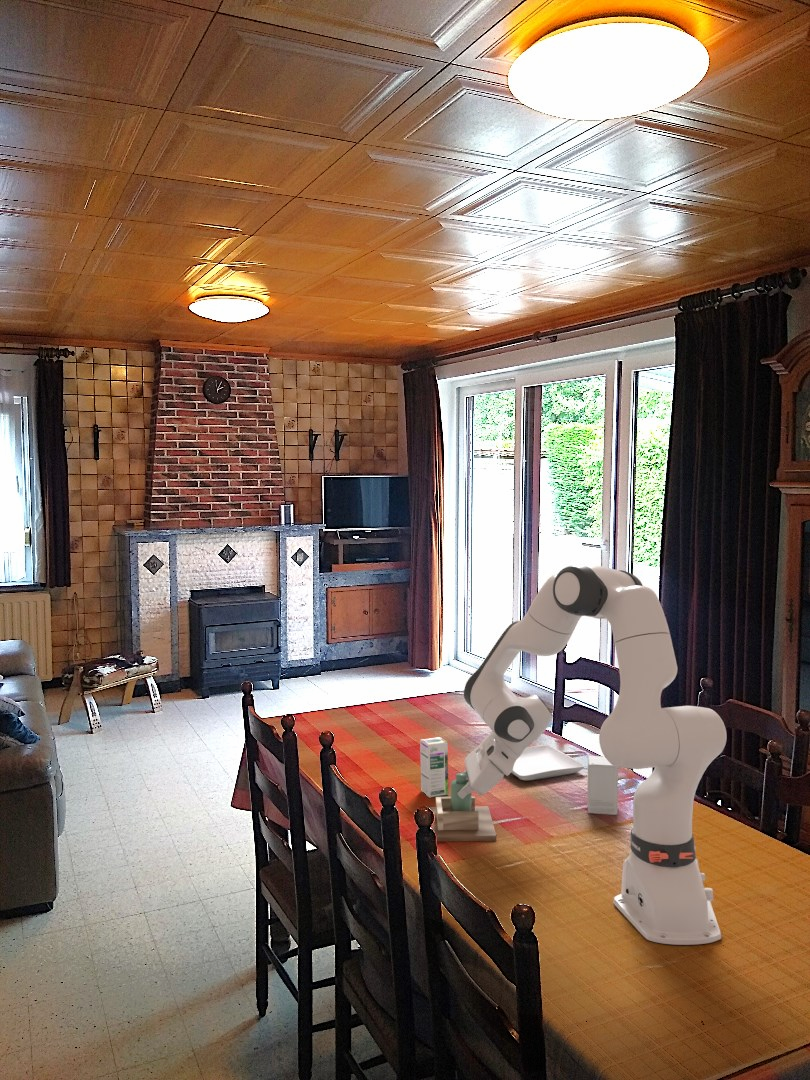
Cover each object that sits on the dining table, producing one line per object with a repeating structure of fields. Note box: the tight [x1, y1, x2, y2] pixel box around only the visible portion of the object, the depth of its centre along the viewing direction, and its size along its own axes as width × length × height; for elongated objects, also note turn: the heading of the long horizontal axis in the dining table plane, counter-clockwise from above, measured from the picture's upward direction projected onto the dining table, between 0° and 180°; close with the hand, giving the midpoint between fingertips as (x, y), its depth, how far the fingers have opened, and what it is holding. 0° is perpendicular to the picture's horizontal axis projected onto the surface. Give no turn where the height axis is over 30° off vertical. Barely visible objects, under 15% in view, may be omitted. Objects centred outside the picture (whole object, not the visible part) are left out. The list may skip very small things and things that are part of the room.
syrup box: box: [419, 736, 450, 799], centre depth 232 cm, size 6×6×14 cm
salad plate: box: [510, 744, 586, 781], centre depth 251 cm, size 21×21×3 cm
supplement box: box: [586, 755, 619, 816], centre depth 219 cm, size 7×7×13 cm
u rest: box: [426, 795, 497, 842], centre depth 210 cm, size 18×16×5 cm
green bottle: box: [450, 772, 472, 811], centre depth 210 cm, size 5×5×10 cm
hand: (458, 791), depth 210 cm, fingers closed on green bottle, 5 cm apart
